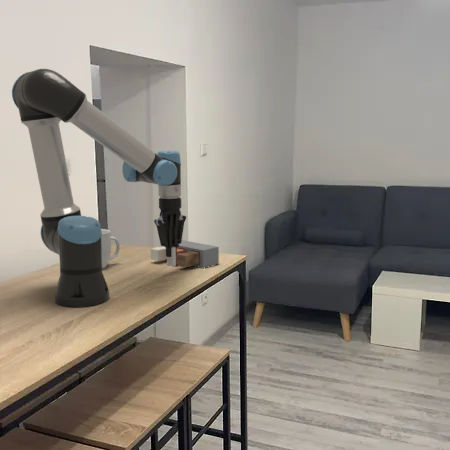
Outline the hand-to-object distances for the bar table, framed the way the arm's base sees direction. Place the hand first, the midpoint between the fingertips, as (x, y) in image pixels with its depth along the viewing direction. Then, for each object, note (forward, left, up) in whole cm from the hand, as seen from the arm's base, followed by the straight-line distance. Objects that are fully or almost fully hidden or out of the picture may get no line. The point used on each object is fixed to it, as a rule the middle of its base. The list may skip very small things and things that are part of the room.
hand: (171, 265), depth 190 cm
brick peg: (+11, +7, -1) cm, 13 cm away
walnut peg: (+9, 0, -1) cm, 9 cm away
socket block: (+16, +7, -3) cm, 17 cm away
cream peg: (+9, +14, -1) cm, 17 cm away
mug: (-12, +25, -3) cm, 28 cm away
